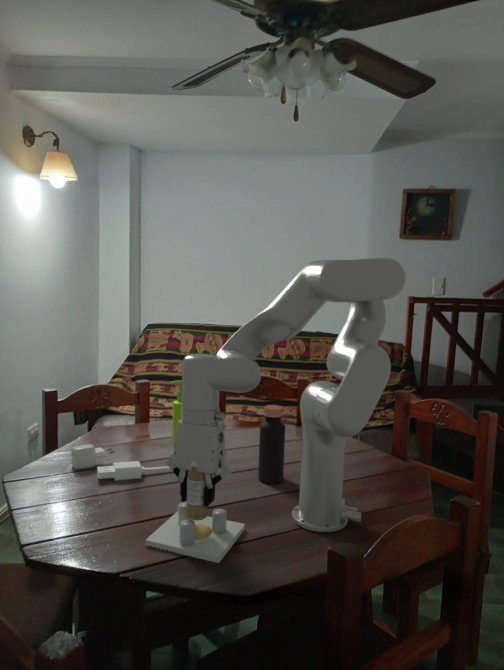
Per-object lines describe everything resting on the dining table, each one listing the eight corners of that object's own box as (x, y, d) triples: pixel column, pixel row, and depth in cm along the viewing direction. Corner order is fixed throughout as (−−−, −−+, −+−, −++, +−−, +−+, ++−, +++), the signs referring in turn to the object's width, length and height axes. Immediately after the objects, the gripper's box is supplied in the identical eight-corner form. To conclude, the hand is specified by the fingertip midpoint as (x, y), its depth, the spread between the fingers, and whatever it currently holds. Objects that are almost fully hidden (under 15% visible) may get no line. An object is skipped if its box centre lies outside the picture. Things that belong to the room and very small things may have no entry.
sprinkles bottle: (199, 509, 107) (201, 448, 105) (212, 517, 103) (214, 454, 102) (181, 515, 104) (183, 452, 102) (193, 523, 100) (195, 459, 99)
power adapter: (110, 459, 146) (110, 439, 145) (115, 464, 142) (115, 444, 141) (70, 465, 140) (70, 445, 140) (74, 471, 136) (74, 450, 136)
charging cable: (217, 473, 141) (218, 461, 141) (98, 482, 129) (98, 470, 129) (212, 466, 146) (213, 455, 146) (96, 475, 134) (97, 463, 133)
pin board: (244, 529, 108) (245, 506, 107) (218, 563, 95) (219, 537, 94) (178, 515, 113) (178, 493, 113) (145, 545, 100) (145, 520, 100)
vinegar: (287, 478, 136) (290, 406, 134) (274, 486, 131) (278, 412, 128) (266, 472, 140) (269, 402, 138) (253, 480, 134) (255, 407, 132)
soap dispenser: (167, 438, 166) (168, 379, 164) (188, 437, 168) (189, 378, 166) (170, 444, 160) (171, 383, 158) (191, 442, 163) (193, 382, 160)
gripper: (245, 416, 102) (241, 502, 104) (171, 406, 107) (169, 487, 109) (231, 425, 95) (228, 517, 97) (153, 414, 100) (151, 501, 102)
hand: (197, 500), depth 103 cm, fingers closed on sprinkles bottle, 4 cm apart
